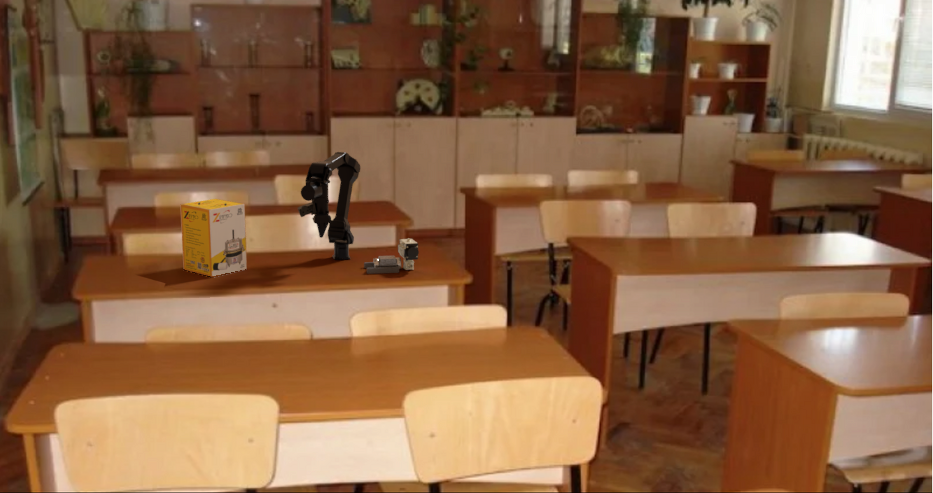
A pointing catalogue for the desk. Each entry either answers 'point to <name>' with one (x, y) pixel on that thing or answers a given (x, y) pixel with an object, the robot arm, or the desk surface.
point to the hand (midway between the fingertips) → (321, 237)
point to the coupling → (387, 261)
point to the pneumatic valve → (408, 252)
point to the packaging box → (213, 236)
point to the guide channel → (379, 269)
